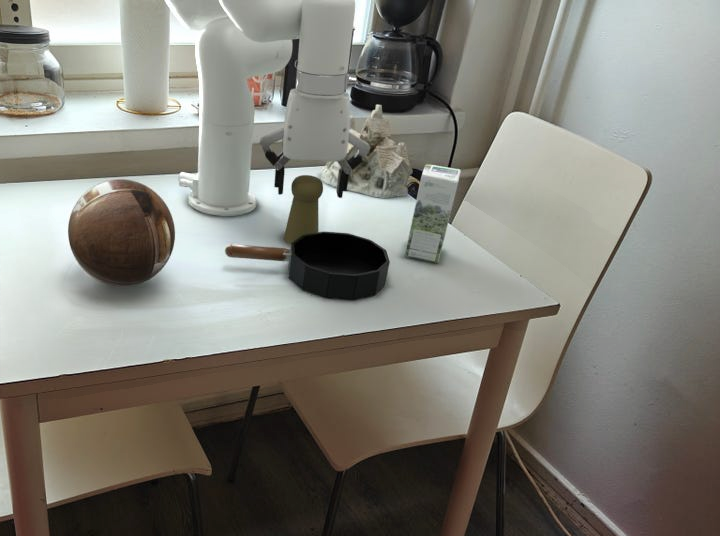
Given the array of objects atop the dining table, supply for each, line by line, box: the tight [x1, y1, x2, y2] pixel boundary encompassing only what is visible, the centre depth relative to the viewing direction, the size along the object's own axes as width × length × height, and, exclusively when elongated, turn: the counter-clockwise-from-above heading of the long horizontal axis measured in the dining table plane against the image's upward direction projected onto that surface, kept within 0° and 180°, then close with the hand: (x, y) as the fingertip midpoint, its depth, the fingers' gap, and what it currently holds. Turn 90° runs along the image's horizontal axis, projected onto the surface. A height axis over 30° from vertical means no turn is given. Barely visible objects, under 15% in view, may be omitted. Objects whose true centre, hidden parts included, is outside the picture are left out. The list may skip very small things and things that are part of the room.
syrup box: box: [404, 163, 462, 264], centre depth 116 cm, size 6×6×14 cm
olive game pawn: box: [283, 174, 324, 246], centre depth 118 cm, size 6×6×11 cm
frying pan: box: [224, 231, 391, 301], centre depth 110 cm, size 25×15×4 cm, turn 88°
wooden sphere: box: [67, 178, 176, 287], centre depth 101 cm, size 15×15×15 cm
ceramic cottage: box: [319, 104, 413, 199], centre depth 142 cm, size 16×16×15 cm
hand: (309, 193), depth 116 cm, fingers open, 9 cm apart
